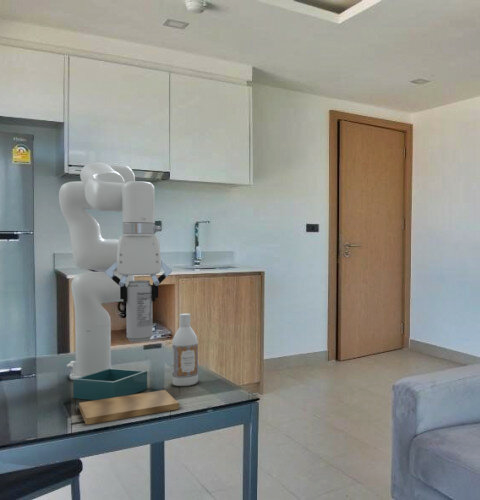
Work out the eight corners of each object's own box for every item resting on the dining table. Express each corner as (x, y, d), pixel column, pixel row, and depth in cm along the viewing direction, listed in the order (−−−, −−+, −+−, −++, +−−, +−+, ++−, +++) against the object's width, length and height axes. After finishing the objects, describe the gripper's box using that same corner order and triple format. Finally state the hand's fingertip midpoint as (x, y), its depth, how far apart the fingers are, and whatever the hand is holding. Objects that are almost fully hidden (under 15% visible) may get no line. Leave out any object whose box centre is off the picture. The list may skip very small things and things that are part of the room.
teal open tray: (73, 398, 138) (73, 379, 138) (109, 385, 150) (109, 368, 150) (113, 402, 135) (113, 382, 135) (147, 388, 147) (147, 370, 147)
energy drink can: (142, 337, 139) (142, 279, 139) (157, 339, 136) (157, 280, 136) (121, 340, 134) (121, 281, 134) (136, 343, 131) (136, 282, 131)
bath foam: (175, 388, 148) (175, 316, 148) (169, 382, 154) (169, 313, 153) (200, 384, 152) (200, 314, 151) (194, 379, 158) (194, 312, 157)
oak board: (86, 424, 118) (85, 418, 118) (78, 408, 129) (78, 402, 129) (178, 408, 129) (179, 402, 129) (164, 395, 141) (164, 389, 141)
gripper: (174, 231, 142) (174, 298, 142) (101, 230, 134) (102, 301, 135) (176, 230, 135) (176, 301, 135) (99, 229, 128) (100, 304, 128)
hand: (139, 300), depth 135 cm, fingers closed on energy drink can, 6 cm apart
